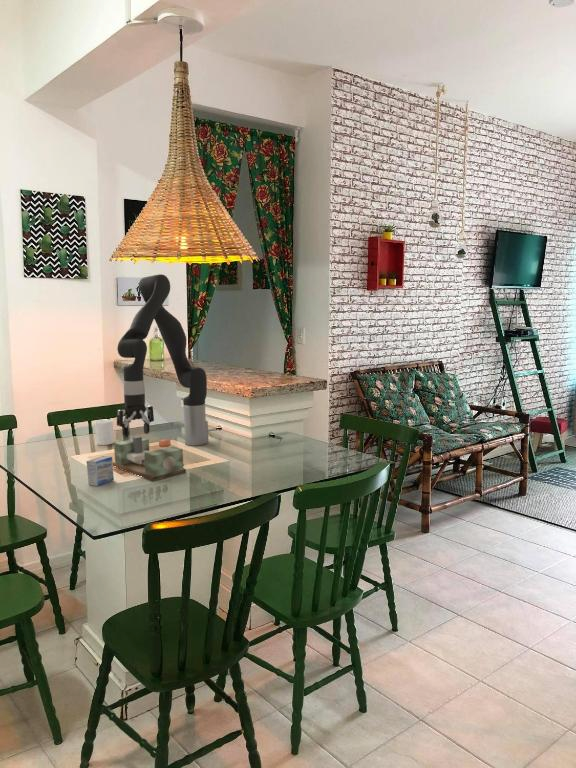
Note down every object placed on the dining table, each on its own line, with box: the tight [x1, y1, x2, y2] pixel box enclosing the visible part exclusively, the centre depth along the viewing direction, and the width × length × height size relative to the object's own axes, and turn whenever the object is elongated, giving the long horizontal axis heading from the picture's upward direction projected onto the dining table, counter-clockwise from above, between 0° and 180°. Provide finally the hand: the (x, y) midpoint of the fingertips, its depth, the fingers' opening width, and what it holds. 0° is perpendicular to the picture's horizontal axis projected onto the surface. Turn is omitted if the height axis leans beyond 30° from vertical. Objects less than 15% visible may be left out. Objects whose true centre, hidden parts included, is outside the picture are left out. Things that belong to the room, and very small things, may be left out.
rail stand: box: [113, 437, 187, 482], centre depth 235 cm, size 14×28×9 cm, turn 43°
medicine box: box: [86, 455, 115, 487], centre depth 220 cm, size 8×4×9 cm, turn 151°
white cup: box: [94, 419, 114, 446], centre depth 278 cm, size 8×8×10 cm
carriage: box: [127, 435, 151, 464], centre depth 238 cm, size 8×6×9 cm
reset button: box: [158, 438, 172, 448], centre depth 225 cm, size 4×4×2 cm
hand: (136, 435), depth 239 cm, fingers open, 8 cm apart
